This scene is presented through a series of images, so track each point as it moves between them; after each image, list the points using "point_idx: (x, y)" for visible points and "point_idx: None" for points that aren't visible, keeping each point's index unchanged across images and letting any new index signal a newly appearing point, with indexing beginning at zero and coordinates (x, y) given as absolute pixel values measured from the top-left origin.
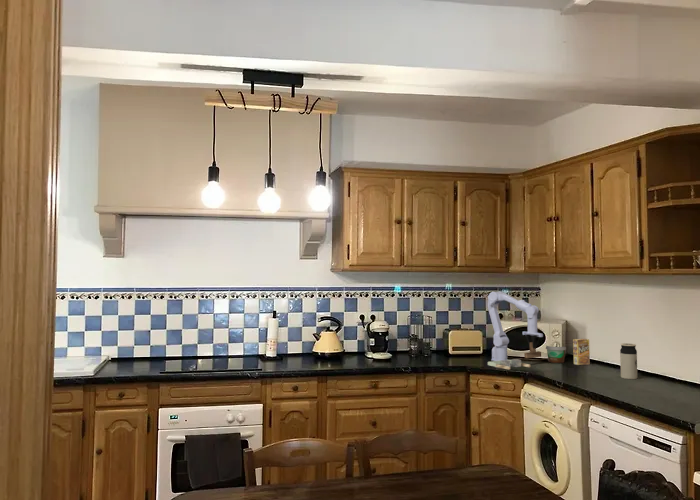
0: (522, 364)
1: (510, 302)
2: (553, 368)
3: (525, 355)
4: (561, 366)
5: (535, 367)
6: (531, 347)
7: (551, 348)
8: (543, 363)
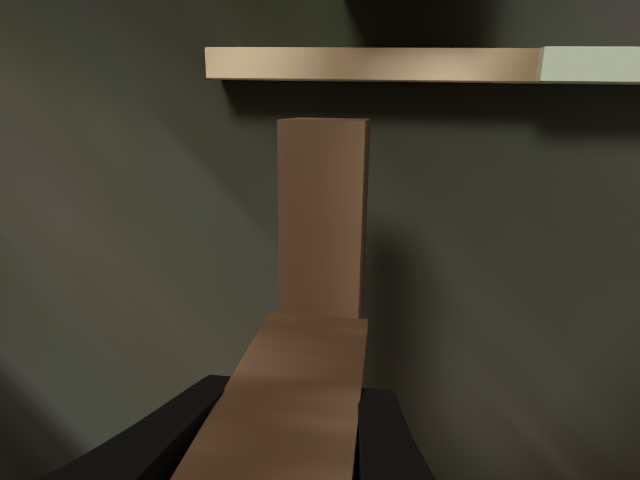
0: (363, 48)
1: None
2: (20, 276)
3: (334, 119)
4: None
5: (171, 130)
6: (287, 380)
7: None
8: None
